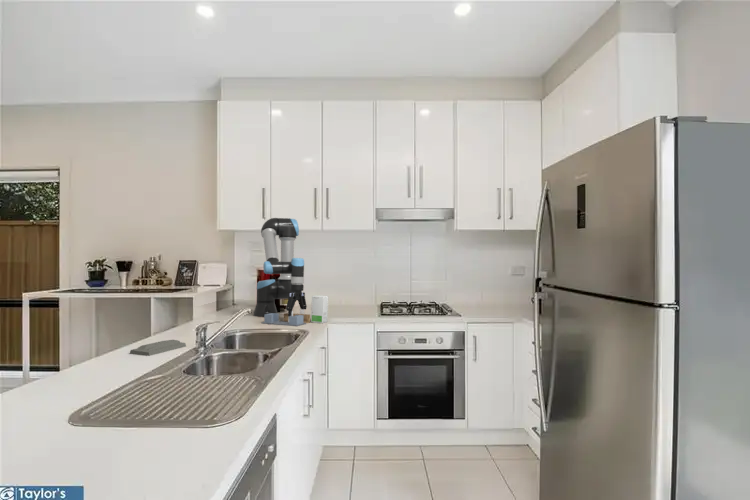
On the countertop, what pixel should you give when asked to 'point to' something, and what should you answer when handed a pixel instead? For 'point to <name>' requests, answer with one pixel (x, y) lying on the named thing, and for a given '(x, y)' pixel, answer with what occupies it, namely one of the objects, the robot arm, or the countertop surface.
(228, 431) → the countertop surface
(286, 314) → the brown long rectangular block
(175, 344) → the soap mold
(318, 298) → the skincare box
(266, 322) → the endcap rail
